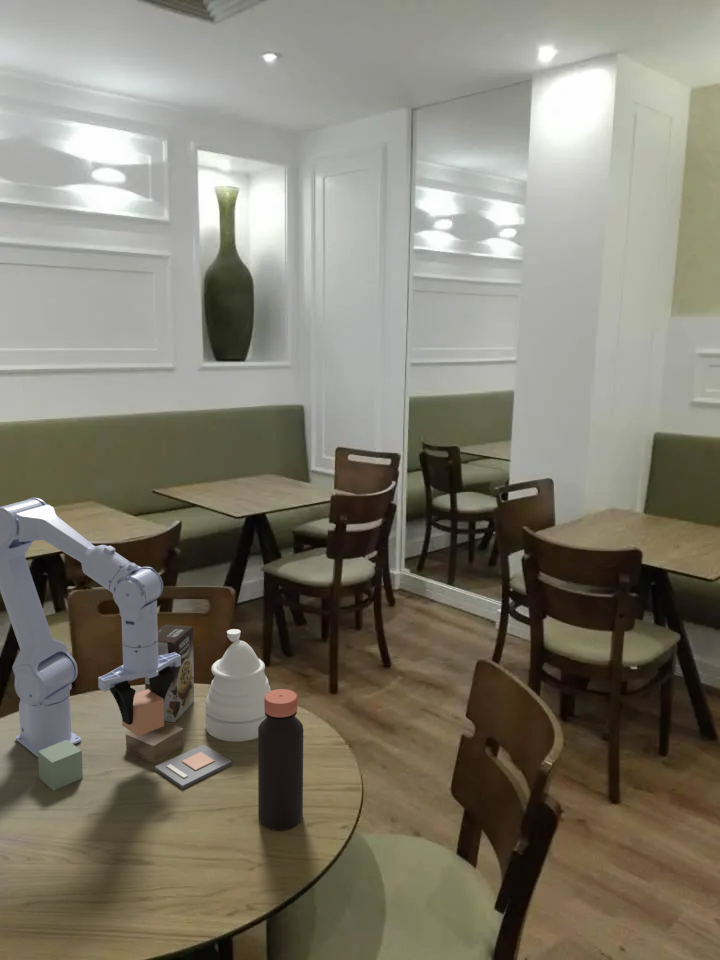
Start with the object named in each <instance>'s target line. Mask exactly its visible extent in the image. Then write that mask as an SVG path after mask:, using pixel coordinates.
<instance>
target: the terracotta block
mask: <svg viewBox="0 0 720 960" xmlns="http://www.w3.org/2000/svg"><path fill="white" fill-rule="evenodd" d="M121 720H122V719H121ZM121 723H122V724H121V725H122V727H123V728H125V729H127V730H128V731H129V732H132V733H134V734H135V735H136V736H140V735H142V734H145V733H148V732H150V731H153V730H155V729H158V728H160V727H163V726H164V699H163V698H161V697H160V696H158V695H157V694H155V693H153V692H152V691H150V690H149V689H147V690H145V689H144V690H141V691H139V692H135V695H134V700H133V722H132V724H130V725H128V724H126V723H125V722H124V721H123V720H122V721H121Z"/></svg>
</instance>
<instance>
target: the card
mask: <svg viewBox="0 0 720 960" xmlns="http://www.w3.org/2000/svg"><path fill="white" fill-rule="evenodd" d="M229 766H232V761H231V760H230V759H228V758H227V757H225V756H223V755H221V754H220V753H219V752H217V751H215V750H214V749H212V748H210V747H209V746H207V745H205V744H204V743H203V744H200V745H199V746H197V747H194V748H193V749H190V750H188V751H186V752H184V753H182V754H179V755H177V756H175V757H173V758H171V759H169V760H166V761H164V762H162V763H160V764H157V765H155V766H154V771H156V772H157V773H159V774H160V775H162V776H163V777H164V778H166V779H167V780H169V781H170V782H172V783H173V784H175V785H176V786H178V788H180V789H182V790H183V789H185V788H187V787H189V786H191V785H194V784H195V783H198V782H200V781H201V780H204V779H205V778H207V777H210V776H211V775H212V776H213V774H215V773H218V772H220V771H221V770H223V769H226V768H227V767H229Z"/></svg>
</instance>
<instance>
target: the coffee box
mask: <svg viewBox="0 0 720 960" xmlns="http://www.w3.org/2000/svg"><path fill="white" fill-rule="evenodd" d="M174 652H175V653H177V654H179V655H181V666H178V667H175V666H173V667H170V670H171V671H173V672H174V673H175V678H174V680H173V681H172V683H171V685H170V687H169V689H168V691H167V694H166V697H165V700H164V721H165V722H168V723H175V722H176V721H177V720H178V719H180V717H181V716H182V715H183V714H184V713H186V711H187V709H189V708H190V707H191V705H193V703H194V702H195V681H194V679H195V678H194V674H195V673H194V672H195V671H194V669H195V668H194V667H195V666H194V626H191V625H180V624H165V623H164V624H163V625H162V626H161V627H159V628H158V656H160V655H165V654H170V653H174ZM144 687H145V689H144V690H147V689H149V690H150V691H151V688H150V682H149V678H147V677H144Z"/></svg>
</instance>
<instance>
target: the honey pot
mask: <svg viewBox="0 0 720 960" xmlns="http://www.w3.org/2000/svg"><path fill="white" fill-rule="evenodd" d="M226 636H227V638H228V640H229V641H230V642H232V644H231V645H229V646H228V647H227V649H226V651H225V652H224V654H223V655H222V657H221V658H220V659H217V660H216V661H215V662H213V664H212V665H211V668H210V671H211V673H212V676H214V677H213V679H212V680H211V683H210V687H209V689H208V694H207V696H206V699H205V703H204V704H205V728H206V732H207V733H208V734H209V735H210V736H212V737H213V738H215V739H218V740H220V741H221V740H222V741H226V742H247V741H251V740H252V741H253V740H255V739H258V727H259V725H260V724H261V722H262V721H263V720H264V719H265V718H266V715H265V710H264V696H265V694H267V693H268V692H270V691H272V690H271V686H270V684H269V679H268V677H267V676H266V673H265V669H266V665H265V662H264V660H261V658H259V657H258V656H257V654H256V652H255V651H254V649H253V648H252V646H250V644H248V643H247V642H246V641H244V640H240V637H241V630H240V629H237V628H231V629H228V630H226Z"/></svg>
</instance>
